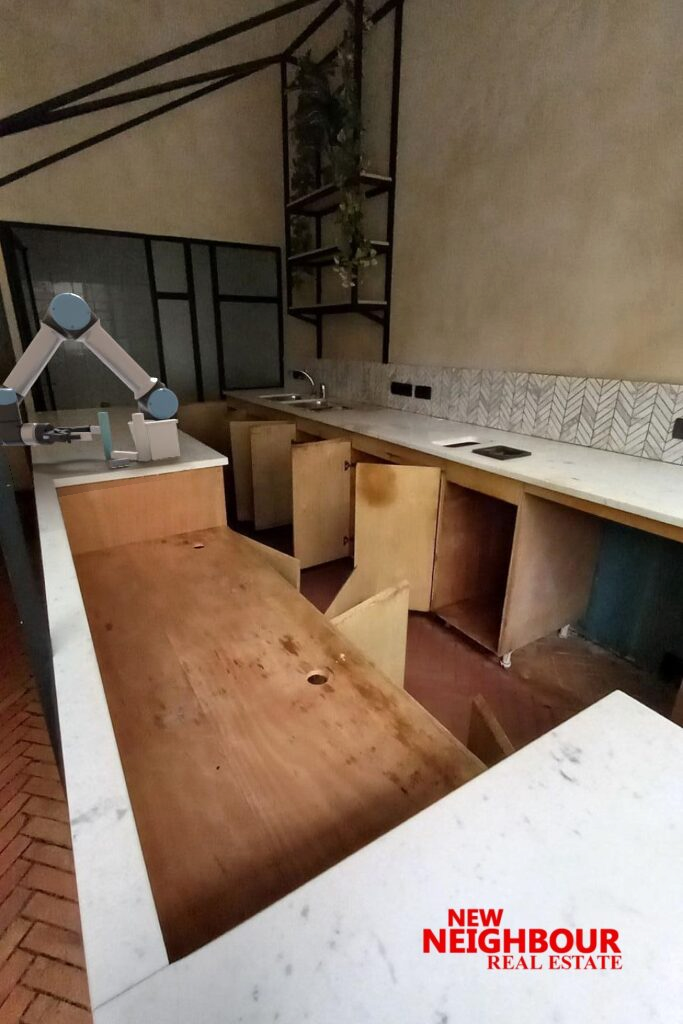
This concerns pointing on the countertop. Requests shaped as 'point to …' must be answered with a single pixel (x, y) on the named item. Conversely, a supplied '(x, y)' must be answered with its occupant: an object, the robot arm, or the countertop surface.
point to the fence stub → (162, 439)
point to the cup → (134, 432)
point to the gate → (140, 438)
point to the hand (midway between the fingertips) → (100, 432)
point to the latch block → (119, 462)
